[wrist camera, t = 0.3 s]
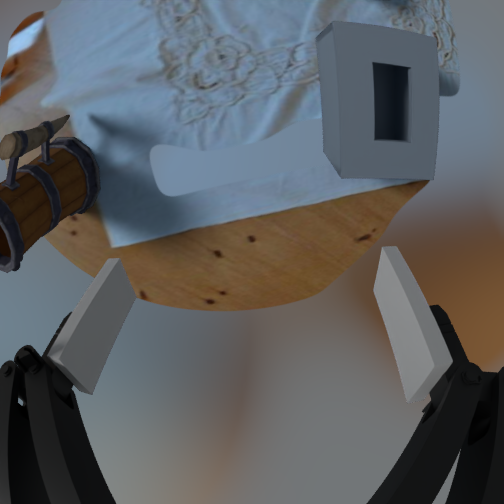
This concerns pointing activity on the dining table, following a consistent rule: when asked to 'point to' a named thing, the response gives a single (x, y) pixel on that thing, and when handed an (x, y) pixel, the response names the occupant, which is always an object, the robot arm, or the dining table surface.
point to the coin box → (379, 101)
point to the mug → (42, 187)
